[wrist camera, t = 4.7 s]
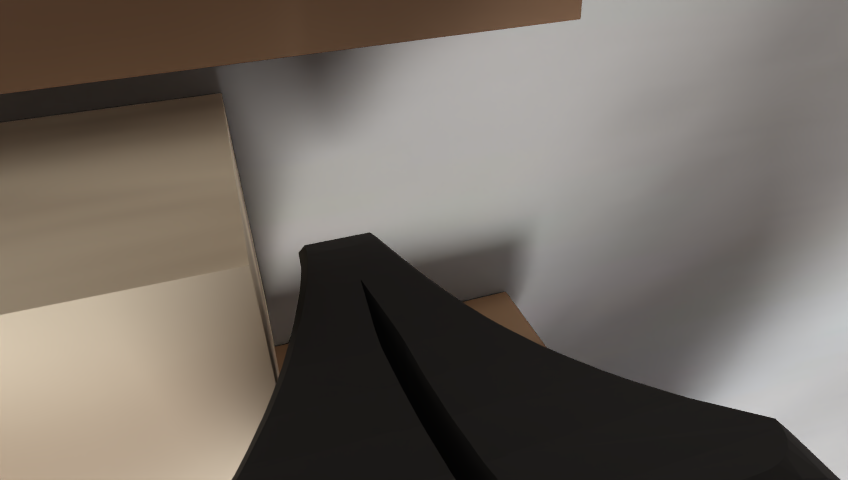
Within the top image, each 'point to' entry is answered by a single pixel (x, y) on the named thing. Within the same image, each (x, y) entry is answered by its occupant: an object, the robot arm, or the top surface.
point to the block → (128, 297)
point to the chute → (238, 46)
